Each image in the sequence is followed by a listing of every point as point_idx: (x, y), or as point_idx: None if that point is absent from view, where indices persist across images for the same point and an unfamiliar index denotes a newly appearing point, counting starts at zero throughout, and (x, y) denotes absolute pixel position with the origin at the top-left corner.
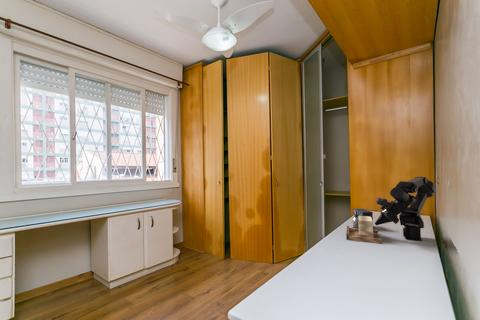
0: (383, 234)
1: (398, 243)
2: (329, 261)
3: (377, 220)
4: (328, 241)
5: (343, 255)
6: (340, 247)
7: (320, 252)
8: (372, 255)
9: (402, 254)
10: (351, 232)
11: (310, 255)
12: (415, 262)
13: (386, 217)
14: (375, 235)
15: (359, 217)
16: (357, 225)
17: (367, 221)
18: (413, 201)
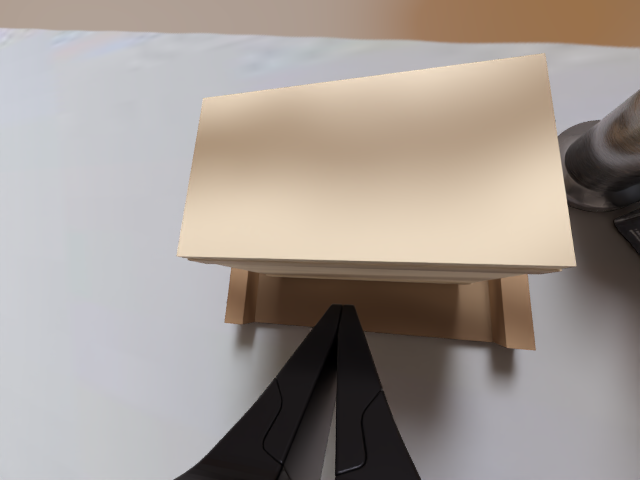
0: (523, 399)
1: None
2: (14, 106)
3: (313, 348)
4: (211, 54)
5: (61, 139)
6: (141, 116)
7: (81, 62)
8: (68, 248)
9: (90, 401)
10: None
11: (54, 43)
12: (8, 430)
13: None
14: (420, 311)
15: (392, 84)
16: (597, 151)
17: (193, 195)
18: None
